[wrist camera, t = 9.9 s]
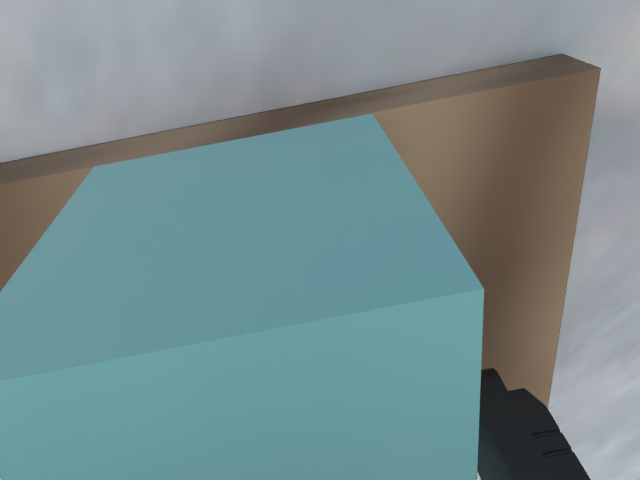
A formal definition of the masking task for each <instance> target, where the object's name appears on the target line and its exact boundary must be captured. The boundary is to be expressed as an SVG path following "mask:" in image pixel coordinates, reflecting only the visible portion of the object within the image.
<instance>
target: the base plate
mask: <svg viewBox="0 0 640 480" xmlns="http://www.w3.org/2000/svg"><path fill="white" fill-rule="evenodd" d="M600 70H601V68H599V67H596V66H593V65H591V64H588V63H585V62H583V61H580V60H578V59H575V58H572V57H570V56H567V55H564V54H560V55H555V56H550V57H545V58H540V59H534V60H529V61H524V62H519V63H514V64H509V65H504V66H498V67H493V68H488V69H483V70H478V71H473V72H468V73H462V74H457V75H452V76H447V77H442V78H437V79H432V80H426V81H421V82H416V83H411V84H406V85H401V86H396V87H390V88H385V89H380V90H375V91H370V92H365V93H360V94H354V95H349V96H344V97H339V98H334V99H329V100H324V101H318V102H313V103H308V104H303V105H298V106H293V107H288V108H282V109H277V110H272V111H267V112H262V113H257V114H252V115H246V116H241V117H236V118H231V119H226V120H221V121H216V122H210V123H205V124H200V125H195V126H190V127H185V128H180V129H174V130H169V131H164V132H159V133H154V134H149V135H144V136H138V137H133V138H128V139H123V140H118V141H113V142H108V143H102V144H97V145H92V146H87V147H82V148H77V149H72V150H66V151H61V152H56V153H51V154H46V155H41V156H36V157H31V158H25V159H20V160H15V161H10V162H5V163H0V292H1V290H2V289H3V288H4V286H5V285H6V284H7V282H8V281H9V280H10V278H11V277H12V276H13V274H14V273H15V272H16V270H17V269H18V268H19V266H20V265H21V264H22V262H23V261H24V260H25V258H26V257H27V256H28V254H29V253H30V252H31V250H32V249H33V248H34V246H35V245H36V244H37V242H38V241H39V240H40V238H41V237H42V235H43V234H44V233H45V231H46V230H47V229H48V227H49V226H50V225H51V223H52V222H53V221H54V219H55V218H56V217H57V215H58V214H59V213H60V211H61V210H62V209H63V207H64V206H65V205H66V203H67V202H68V201H69V199H70V198H71V197H72V195H73V194H74V193H75V191H76V190H77V189H78V187H79V186H80V185H81V183H82V182H83V181H84V179H85V178H86V177H87V175H88V174H89V173H90V171H91V170H92V169H93V167H95V166H100V165H106V164H111V163H116V162H121V161H126V160H132V159H137V158H142V157H147V156H153V155H158V154H163V153H168V152H173V151H179V150H184V149H189V148H194V147H199V146H205V145H210V144H215V143H220V142H226V141H231V140H236V139H241V138H246V137H252V136H257V135H262V134H267V133H272V132H278V131H283V130H288V129H293V128H299V127H304V126H309V125H314V124H319V123H325V122H330V121H335V120H340V119H345V118H351V117H356V116H361V115H366V114H371V113H373V115H374V116H375V118H376V119H377V121H378V123H379V124H380V126H381V127H382V129H383V130H384V132H385V134H386V135H387V137H388V138H389V140H390V141H391V143H392V145H393V146H394V148H395V149H396V151H397V152H398V154H399V156H400V157H401V159H402V160H403V162H404V163H405V165H406V167H407V168H408V170H409V171H410V173H411V174H412V176H413V178H414V179H415V181H416V182H417V184H418V185H419V187H420V189H421V190H422V192H423V193H424V195H425V196H426V198H427V200H428V201H429V203H430V204H431V206H432V208H433V209H434V211H435V212H436V214H437V215H438V217H439V219H440V220H441V222H442V223H443V225H444V226H445V228H446V230H447V231H448V233H449V234H450V236H451V237H452V239H453V241H454V242H455V244H456V245H457V247H458V248H459V250H460V252H461V253H462V255H463V256H464V258H465V259H466V261H467V263H468V264H469V266H470V267H471V269H472V270H473V272H474V274H475V275H476V277H477V278H478V280H479V281H480V283H481V285H482V286H483V288H484V306H483V333H482V359H481V370H484V369H489V368H494V369H495V370H496V371H497V372H498V374H499V375H500V377H501V379H502V381H503V383H504V385H505V386H506V388H507V390H508V391H511V390H516V389H521V388H525V389H526V390H527V391H529V392H530V393H531V394H532V395H533V396H535V397H536V398H537V399H538V400H539V401H541V402H542V403H543V404H544V405H545V406H546V407H547V409H548V402H549V396H550V389H551V383H552V377H553V370H554V364H555V357H556V351H557V345H558V338H559V332H560V325H561V319H562V313H563V306H564V300H565V294H566V287H567V281H568V274H569V268H570V262H571V255H572V249H573V242H574V236H575V230H576V223H577V217H578V210H579V204H580V198H581V191H582V185H583V179H584V172H585V166H586V159H587V153H588V147H589V140H590V134H591V127H592V121H593V115H594V108H595V102H596V95H597V89H598V83H599V76H600Z"/></svg>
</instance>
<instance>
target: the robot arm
mask: <svg viewBox="0 0 640 480" xmlns="http://www.w3.org/2000/svg"><path fill="white" fill-rule="evenodd" d="M477 471H478V473H479V476H480V478H481V480H590V478H589V476H588V475H587V473H586V471H585V470H584V468H583V466H582V465H581V463H580V462H579V460H578V458H577V457H576V455H575V453H574V452H572V450H571V447H570V445H569V443H568V442H567V440H566V438H565V437H564V435H563V434H562V433H561V432H560V430H559V427H558V425H557V424H556V422H555V420H554V419H553V417H552V415H551V414H550V412H549V411H548V409H547V407H546V406H545V405H544V404H543V403H542V402H541V401H539V400H538V399H537V398H536V397H535V396H533V395H532V394H531V393H530V392H529V391H527V390H526V389H525V388H521V389H516V390H511V391H508V390H507V388H506V386H505V385H504V383H503V381H502V379H501V377H500V375H499V374H498V372H497V371H496V370H495V369H494V368H489V369H484V370H481V386H480V412H479V439H478V465H477Z"/></svg>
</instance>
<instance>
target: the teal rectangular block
mask: <svg viewBox="0 0 640 480" xmlns="http://www.w3.org/2000/svg"><path fill="white" fill-rule="evenodd" d="M483 306H484V288H483V286H482V285H481V283H480V281H479V280H478V278H477V277H476V275H475V274H474V272H473V270H472V269H471V267H470V266H469V264H468V263H467V261H466V259H465V258H464V256H463V255H462V253H461V252H460V250H459V248H458V247H457V245H456V244H455V242H454V241H453V239H452V237H451V236H450V234H449V233H448V231H447V230H446V228H445V226H444V225H443V223H442V222H441V220H440V219H439V217H438V215H437V214H436V212H435V211H434V209H433V208H432V206H431V204H430V203H429V201H428V200H427V198H426V196H425V195H424V193H423V192H422V190H421V189H420V187H419V185H418V184H417V182H416V181H415V179H414V178H413V176H412V174H411V173H410V171H409V170H408V168H407V167H406V165H405V163H404V162H403V160H402V159H401V157H400V156H399V154H398V152H397V151H396V149H395V148H394V146H393V145H392V143H391V141H390V140H389V138H388V137H387V135H386V134H385V132H384V130H383V129H382V127H381V126H380V124H379V123H378V121H377V119H376V118H375V116H374V115H373V113H371V114H366V115H361V116H356V117H351V118H345V119H340V120H335V121H330V122H325V123H319V124H314V125H309V126H304V127H299V128H293V129H288V130H283V131H278V132H272V133H267V134H262V135H257V136H252V137H246V138H241V139H236V140H231V141H226V142H220V143H215V144H210V145H205V146H199V147H194V148H189V149H184V150H179V151H173V152H168V153H163V154H158V155H153V156H147V157H142V158H137V159H132V160H126V161H121V162H116V163H111V164H106V165H100V166H95V167H93V169H92V170H91V171H90V173H89V174H88V175H87V177H86V178H85V179H84V181H83V182H82V183H81V185H80V186H79V187H78V189H77V190H76V191H75V193H74V194H73V195H72V197H71V198H70V199H69V201H68V202H67V203H66V205H65V206H64V207H63V209H62V210H61V211H60V213H59V214H58V215H57V217H56V218H55V219H54V221H53V222H52V223H51V225H50V226H49V227H48V229H47V230H46V231H45V233H44V234H43V235H42V237H41V238H40V240H39V241H38V242H37V244H36V245H35V246H34V248H33V249H32V250H31V252H30V253H29V254H28V256H27V257H26V258H25V260H24V261H23V262H22V264H21V265H20V266H19V268H18V269H17V270H16V272H15V273H14V274H13V276H12V277H11V278H10V280H9V281H8V282H7V284H6V285H5V286H4V288H3V289H2V290H1V292H0V479H1V480H477V465H478V439H479V412H480V386H481V359H482V333H483Z"/></svg>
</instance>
